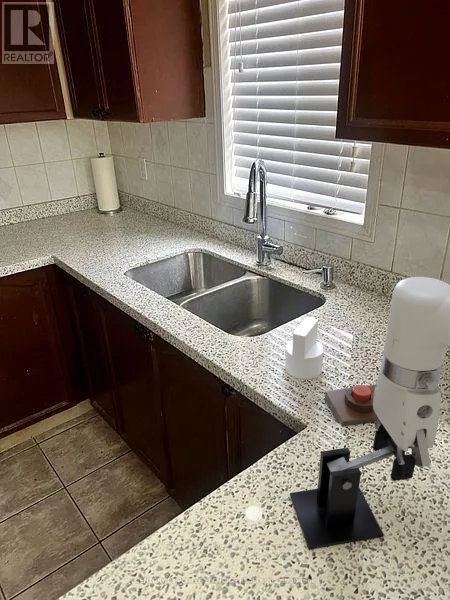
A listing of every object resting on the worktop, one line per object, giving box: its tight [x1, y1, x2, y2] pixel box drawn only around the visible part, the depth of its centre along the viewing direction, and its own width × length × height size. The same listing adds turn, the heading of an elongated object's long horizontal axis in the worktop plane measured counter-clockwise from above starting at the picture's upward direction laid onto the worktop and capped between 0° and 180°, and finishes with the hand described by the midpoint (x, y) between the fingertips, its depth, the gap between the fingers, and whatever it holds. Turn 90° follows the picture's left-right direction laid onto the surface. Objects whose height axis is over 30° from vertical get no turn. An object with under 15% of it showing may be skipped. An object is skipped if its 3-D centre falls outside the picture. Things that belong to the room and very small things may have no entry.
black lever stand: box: [289, 447, 385, 551], centre depth 70 cm, size 12×10×13 cm
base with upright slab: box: [284, 316, 325, 380], centre depth 107 cm, size 9×9×12 cm
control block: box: [324, 384, 377, 427], centre depth 95 cm, size 12×10×4 cm
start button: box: [352, 384, 371, 402], centre depth 94 cm, size 4×4×2 cm
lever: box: [327, 435, 397, 472], centre depth 68 cm, size 11×5×2 cm, turn 98°
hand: (391, 462), depth 69 cm, fingers closed on lever, 5 cm apart
